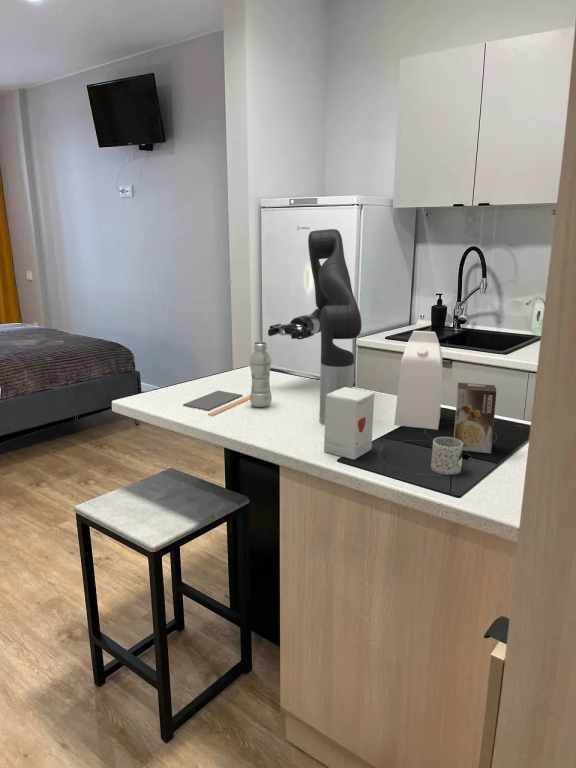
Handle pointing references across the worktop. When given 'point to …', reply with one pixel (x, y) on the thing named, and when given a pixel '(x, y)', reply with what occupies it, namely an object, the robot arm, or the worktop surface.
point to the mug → (447, 455)
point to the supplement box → (348, 422)
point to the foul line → (229, 406)
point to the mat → (213, 400)
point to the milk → (420, 382)
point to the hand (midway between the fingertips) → (280, 334)
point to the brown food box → (475, 416)
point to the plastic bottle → (260, 376)
